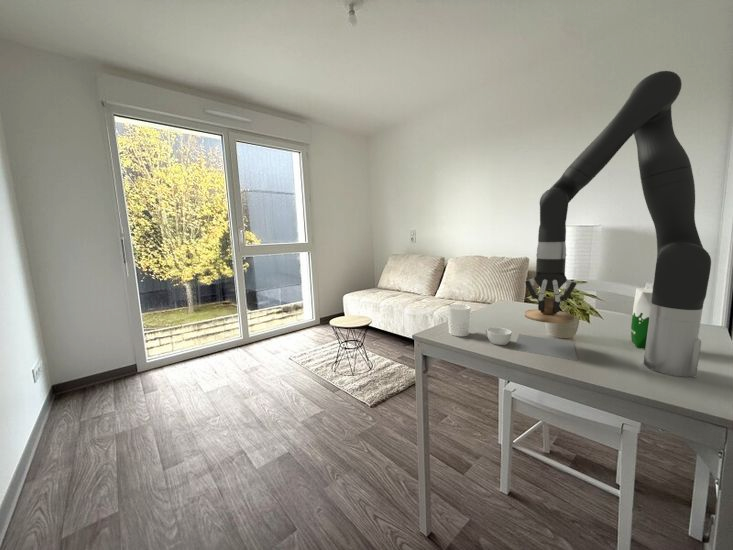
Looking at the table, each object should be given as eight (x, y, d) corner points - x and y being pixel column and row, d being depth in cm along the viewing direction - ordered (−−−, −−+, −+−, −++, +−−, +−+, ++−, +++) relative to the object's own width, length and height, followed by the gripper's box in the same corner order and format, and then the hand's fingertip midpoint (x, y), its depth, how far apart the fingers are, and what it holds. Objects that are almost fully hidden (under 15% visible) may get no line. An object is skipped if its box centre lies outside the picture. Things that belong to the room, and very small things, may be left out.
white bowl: (521, 346, 96) (522, 332, 96) (501, 352, 92) (502, 338, 91) (495, 337, 105) (496, 324, 104) (475, 342, 100) (476, 329, 100)
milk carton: (673, 354, 89) (682, 287, 86) (633, 348, 93) (640, 285, 90) (663, 344, 96) (671, 283, 93) (626, 339, 101) (633, 280, 98)
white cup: (444, 335, 107) (445, 308, 106) (449, 328, 114) (450, 303, 113) (467, 338, 103) (468, 310, 102) (471, 331, 110) (472, 305, 109)
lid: (572, 314, 95) (573, 295, 94) (575, 325, 84) (576, 304, 83) (525, 310, 102) (526, 293, 101) (523, 320, 91) (524, 300, 90)
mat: (573, 343, 97) (573, 342, 97) (577, 362, 84) (577, 360, 84) (518, 335, 106) (518, 333, 106) (513, 351, 92) (513, 349, 92)
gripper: (578, 256, 90) (575, 312, 92) (525, 256, 97) (523, 307, 99) (580, 258, 84) (577, 318, 86) (523, 257, 91) (522, 313, 93)
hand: (548, 312), depth 93 cm, fingers closed on lid, 3 cm apart
